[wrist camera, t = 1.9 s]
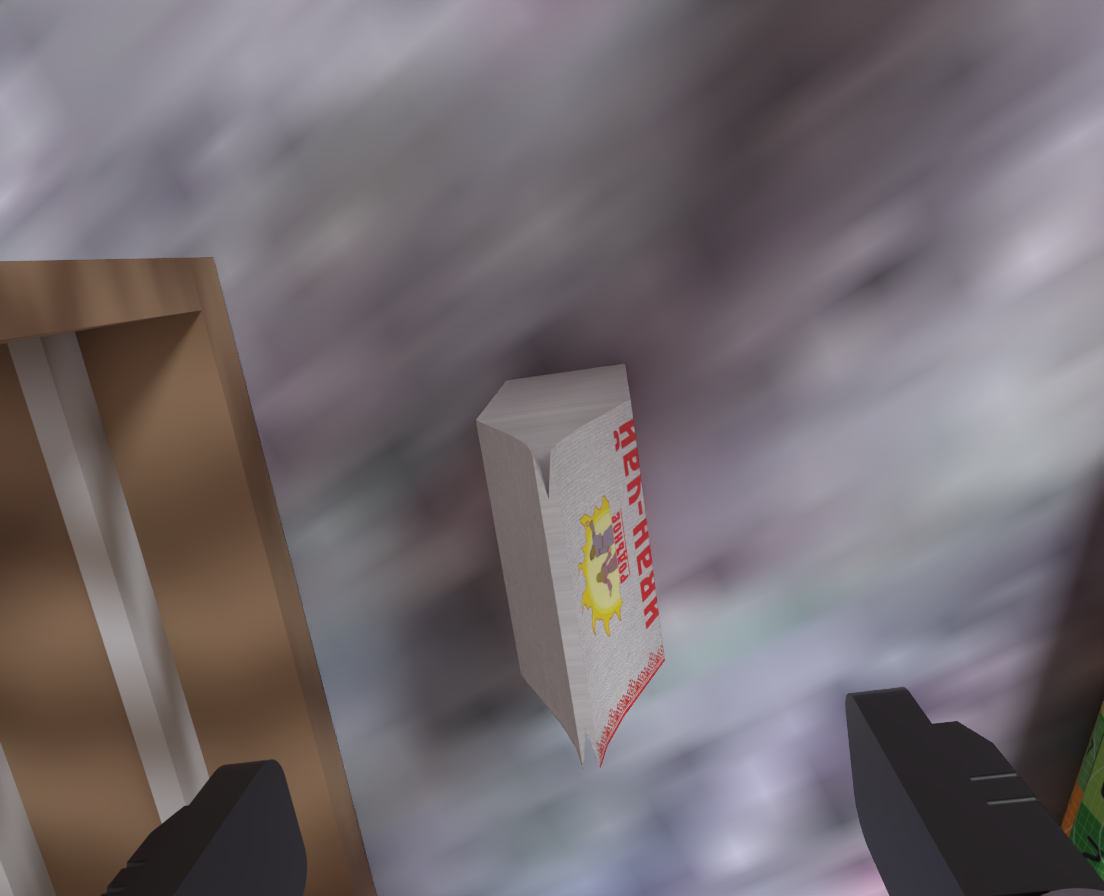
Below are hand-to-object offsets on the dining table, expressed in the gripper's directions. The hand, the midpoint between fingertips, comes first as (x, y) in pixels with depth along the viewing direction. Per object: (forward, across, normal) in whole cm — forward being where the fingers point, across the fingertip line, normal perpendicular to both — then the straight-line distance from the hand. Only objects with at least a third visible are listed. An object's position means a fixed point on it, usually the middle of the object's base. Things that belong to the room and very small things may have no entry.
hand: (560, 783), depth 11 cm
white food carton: (+15, 0, 0) cm, 15 cm away
